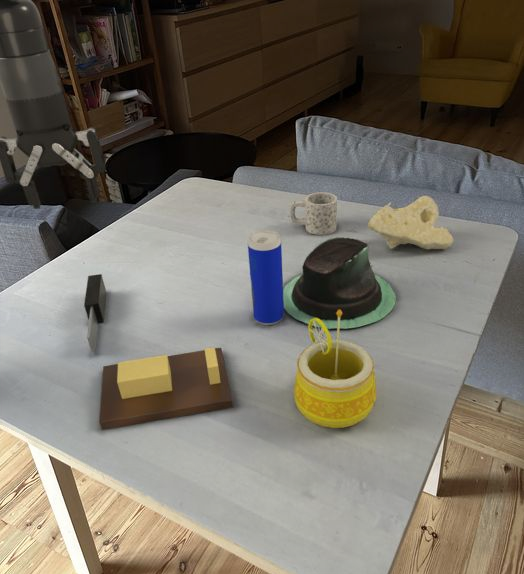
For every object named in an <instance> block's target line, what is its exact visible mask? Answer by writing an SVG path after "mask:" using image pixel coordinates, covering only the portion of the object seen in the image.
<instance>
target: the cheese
mask: <svg viewBox="0 0 524 574" xmlns="http://www.w3.org/2000/svg"><path fill="white" fill-rule="evenodd" d="M391 204H392V202H389V203H388V204H387V205H386V204H385V205H384V206H383V207H382V208H380V209H379V210H376V213H375V214H374V215H373V216H372V217H370V219H369V222H368V224H367V226H368V228H369V229H370V230H371V231H374V232H376V233H378V234H379V235H381V236H382V237H383V239H384V240H385V241H386V244H387V246H388V247H389V249H390V250H394V248H396V247H398V246H399V245H406V244H411V245H415V246H417V247H418V248H420V249H424V250H446V249H448V248H449V247H451V246H452V245H453V243H454V238H453V235H452V234H451V233H450V232H449V230H448V229H447V228H445V227H443V226H440V227H436V223H437V222H438V219H439V217H440V215H439V214H440V211H439V207H438V205H437V203H436V202H435V200H434V199H433V198H432V197H430V196H428V195H422V196H420V197H418V198H417V199H416V200H414V201H413V202H412V203H410V204H408V205H406V206H404V207H398V208H396V209H393V207H391V206H390V205H391Z"/></svg>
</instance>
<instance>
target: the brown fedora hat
mask: <svg viewBox="0 0 524 574" xmlns="http://www.w3.org/2000/svg"><path fill="white" fill-rule="evenodd" d="M369 252H370V245H369V244H368V243H367V242H364V241H362V240H359V239H358V238H357V237H353V238H351V237H343V236H340V237H339V236H335V237H329V238H328V239H326V240H324V241H322V242H320V243H318V244H317V245H316V246H315V247H314V248H313V250H312V251H310V252H309V253H308V254H307V256H306V258H305V259H304V261H303V264H302V266H301V267H302V268H301V270H302V274H301V275H297V276H296V277H294V278H293V279H292V280H291V281H289V282H288V283H287V284H286V285H285V286H284V287H283V300H284V311H286V313H287V314H288V315H290V316H291V317H292V318H293V319H295V320H297V321H300V322H303V323H304V324H307V325H309V322H310V320H311V319H313V318H318V319H320V320H321V321H322V322H323V323H324V324H325V326H326V327H327V329H328V330H330V329H337V325H338V316H337V314H336V313H337V311H338V310H341V311H342V315H341V317H340V329H346V330H347V329H353V328H359V327H363V326H366V325H370V324H372V323H373V324H374V323H376V322H378V321H380V320H382V319H383V318H384V317H386V316H387V315H388V314H389V313H391V311H392V310H393V309H394V307H395V305H396V302H397V296H396V293H395V292H394V290H393V288H392V286H391V285H390V283H388V282H387V281H386V280H385V279H383V278H382V277H380V276H379V275H377V274H375V273H374V271H373V265H371V264H372V262H370V257H369V254H370V253H369ZM314 322H315V326H316V328H318V326H317V323H316V321H314ZM318 325H319V328H322V327H321V325H320V324H319V323H318ZM315 326H314V323H313V324H312V327H315Z"/></svg>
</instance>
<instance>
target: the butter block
mask: <svg viewBox="0 0 524 574" xmlns="http://www.w3.org/2000/svg"><path fill="white" fill-rule="evenodd" d="M168 356H169V355H168V354H163V355H156V356H149V357H142V358H136V359H130V360H125V361H118V362H117V364H118V376H117V383H118V387H119V390H120V393H121V397H122V399H126V398H132V397H138V396H144V395H150V394H156V393H162V392H168V391H172V380H171V370H170V365H169V361H168Z"/></svg>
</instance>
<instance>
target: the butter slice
mask: <svg viewBox="0 0 524 574" xmlns="http://www.w3.org/2000/svg"><path fill="white" fill-rule="evenodd" d="M215 348H216V347H214V346H213V347H206V348H204V350H205V356H206V362H207V368H208V375H209V381H210V385H211V384H217V383H220V376H219V368H218V362H217V357H216V352H215Z"/></svg>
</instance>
